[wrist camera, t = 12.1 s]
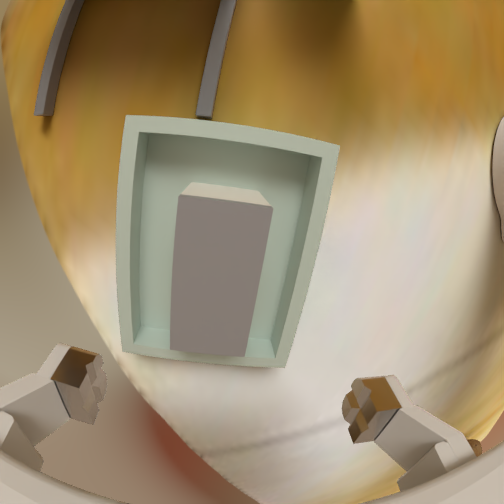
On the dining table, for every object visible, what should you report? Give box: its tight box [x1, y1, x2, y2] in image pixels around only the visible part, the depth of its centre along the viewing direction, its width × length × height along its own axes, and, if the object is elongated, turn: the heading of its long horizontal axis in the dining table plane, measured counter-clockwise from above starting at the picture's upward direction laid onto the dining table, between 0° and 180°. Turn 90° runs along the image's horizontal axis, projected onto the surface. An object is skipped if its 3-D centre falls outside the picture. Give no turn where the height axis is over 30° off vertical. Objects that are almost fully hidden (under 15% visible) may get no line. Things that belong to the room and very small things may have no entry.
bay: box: [34, 0, 237, 119], centre depth 10 cm, size 14×13×11 cm
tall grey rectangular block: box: [170, 182, 273, 357], centre depth 17 cm, size 4×9×6 cm, turn 171°
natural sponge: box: [467, 439, 482, 457], centre depth 42 cm, size 9×9×10 cm
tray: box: [116, 115, 340, 368], centre depth 20 cm, size 13×17×4 cm
